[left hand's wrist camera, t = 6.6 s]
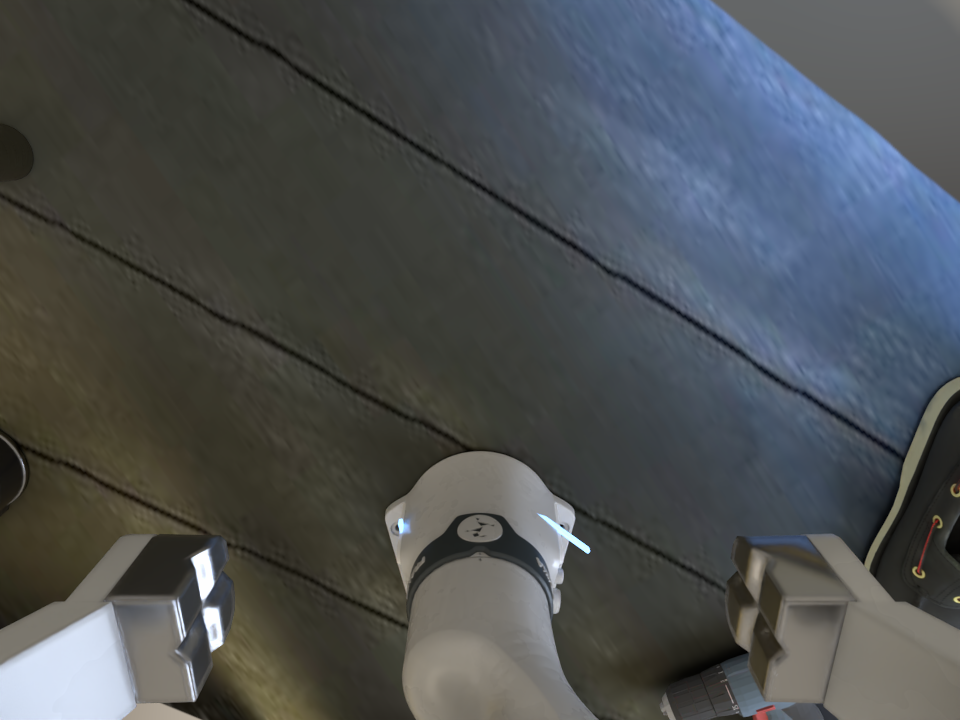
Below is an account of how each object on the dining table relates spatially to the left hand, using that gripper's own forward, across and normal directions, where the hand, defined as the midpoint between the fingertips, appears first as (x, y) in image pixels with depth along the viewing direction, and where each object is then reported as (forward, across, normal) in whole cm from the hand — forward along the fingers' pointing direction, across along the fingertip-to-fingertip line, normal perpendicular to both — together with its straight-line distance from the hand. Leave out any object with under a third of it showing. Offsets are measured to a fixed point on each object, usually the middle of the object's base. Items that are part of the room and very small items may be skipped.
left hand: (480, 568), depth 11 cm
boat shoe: (+48, +46, -32) cm, 74 cm away
